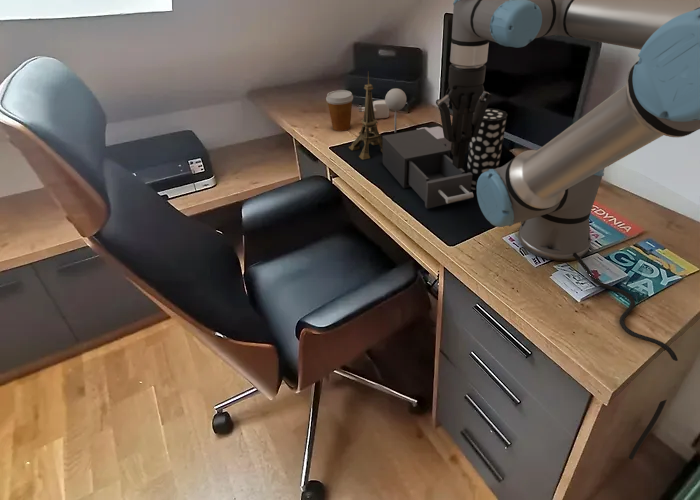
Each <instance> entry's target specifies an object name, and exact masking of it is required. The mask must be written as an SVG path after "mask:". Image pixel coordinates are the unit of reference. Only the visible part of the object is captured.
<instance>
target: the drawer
mask: <svg viewBox="0 0 700 500" xmlns="http://www.w3.org/2000/svg"><path fill="white" fill-rule="evenodd" d="M452 163H453V159H452V158H451V157H450V158H449V157H448V156H447V155H446V154H440V155H435V156H430V157H425V158H420V159H415V160H409V161H407V183H408V184H409V185H410V186H411V187H410V188H412V190H413V191H414V192H415V193H416V194H417V195H418V196H419V198H420V199H421V200H422V201H423V202H424V207H425V208H426V209H430V208H435V207H440V206H445V205H449V204H453V203H459V202H462V201H466V200H470V199H473V198H474V193H473V191H472V189H471V183H472V176H473V174H472V173H471V172H470V173H467V172H466V170H464V168H461V169H457V168H456V167H455V166H454V165H452Z"/></svg>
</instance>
